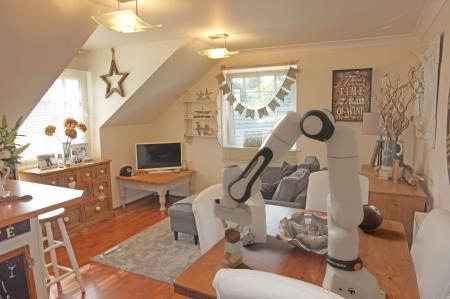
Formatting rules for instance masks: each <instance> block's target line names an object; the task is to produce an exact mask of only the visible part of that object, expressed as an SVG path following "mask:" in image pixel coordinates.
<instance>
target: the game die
mask: <svg viewBox="0 0 450 299" xmlns="http://www.w3.org/2000/svg"><path fill="white" fill-rule="evenodd" d="M254 237H256V236H254V235H253V234H252V233H251V232H250V229H249V230H248V231H244V232H243V233H240V240H241V244H242V247H243V248H244V247H245V246H249V245H251V246H253V243H254V242H253V239H254Z"/></svg>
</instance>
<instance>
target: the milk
mask: <svg viewBox="0 0 450 299" xmlns="http://www.w3.org/2000/svg"><path fill="white" fill-rule="evenodd" d="M244 204H248V206H249V207H250V208H251V214H252V223H251V224H250V225H248V226H245V227H244V229H243V231H248V230H249V229H250V232H251V233H252V234H253V235H254V236H256V237H254V239H253V242H252V243H256V244H257V243H258V244H261V243H262V244H266V243H267V237H268V236H267V235H268V233H267V232H268V231H267V213H266V201H265V199H264V197H263V194H262V193H261V190H260V191H259V192H258V193H256V194H255V195H254V196H252V197H251V198H249V199H248V200H247V201H246V202H244Z"/></svg>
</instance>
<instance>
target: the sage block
mask: <svg viewBox="0 0 450 299" xmlns="http://www.w3.org/2000/svg"><path fill="white" fill-rule="evenodd" d="M241 244H242V242H241V240H240V241H238V242H236V243H234V244H232V243H229V242H227V241H225V240H224V248H225V249H224V251H226V252H228V253H231V254H233V255H234V254H236V253H237V252H239V251H241V250H242V249H241V248H242V245H241Z"/></svg>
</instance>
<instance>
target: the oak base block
mask: <svg viewBox="0 0 450 299" xmlns="http://www.w3.org/2000/svg"><path fill="white" fill-rule="evenodd" d="M223 264H225V265H226V266H229V267H231V268H235V267H237V266H239V265H241V264H243V250H242V249H241V251H239V252H237V253H236V254H234V255H233V254H231V253H228V252H226V251H225V250H223Z"/></svg>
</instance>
